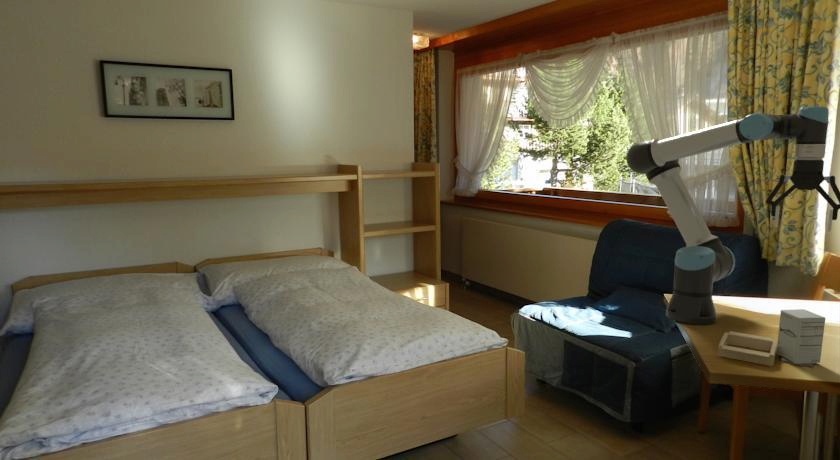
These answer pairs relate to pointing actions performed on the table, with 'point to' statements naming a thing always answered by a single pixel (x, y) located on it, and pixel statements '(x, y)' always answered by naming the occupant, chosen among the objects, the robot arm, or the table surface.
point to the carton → (749, 342)
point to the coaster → (794, 363)
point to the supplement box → (800, 336)
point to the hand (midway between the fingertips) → (802, 228)
